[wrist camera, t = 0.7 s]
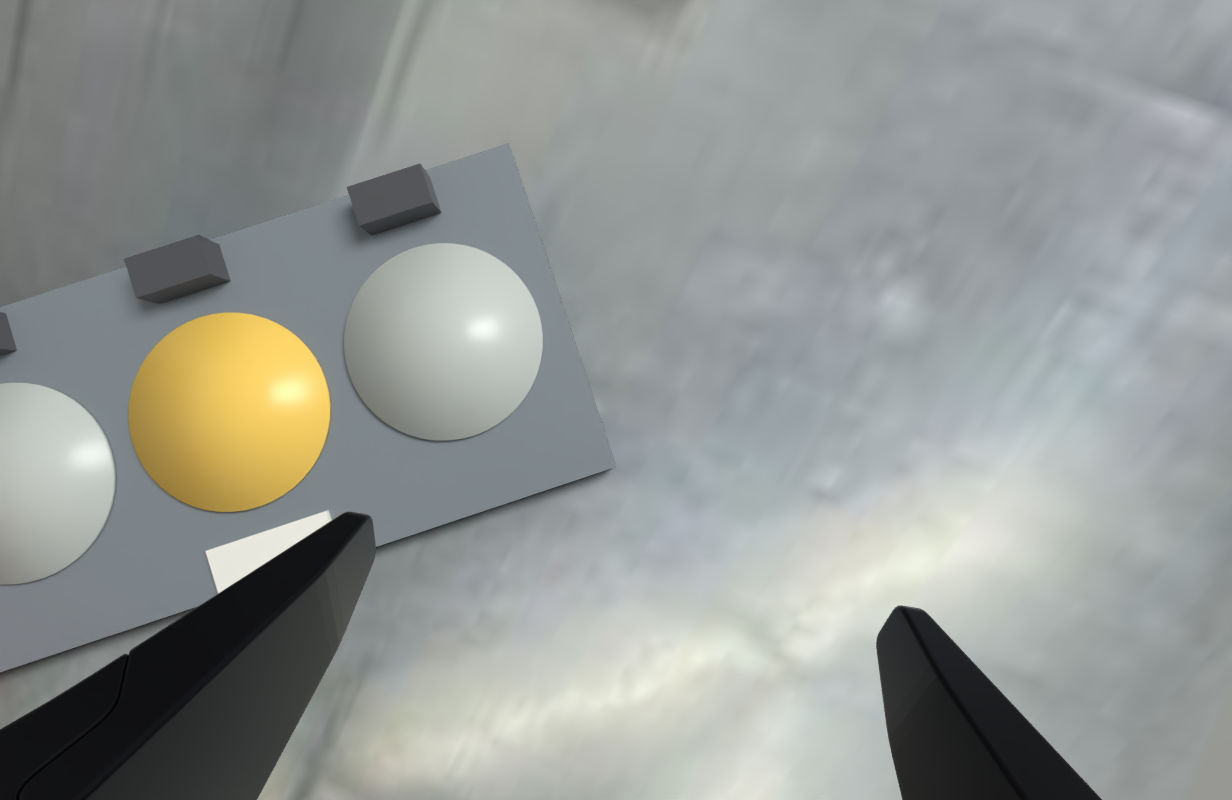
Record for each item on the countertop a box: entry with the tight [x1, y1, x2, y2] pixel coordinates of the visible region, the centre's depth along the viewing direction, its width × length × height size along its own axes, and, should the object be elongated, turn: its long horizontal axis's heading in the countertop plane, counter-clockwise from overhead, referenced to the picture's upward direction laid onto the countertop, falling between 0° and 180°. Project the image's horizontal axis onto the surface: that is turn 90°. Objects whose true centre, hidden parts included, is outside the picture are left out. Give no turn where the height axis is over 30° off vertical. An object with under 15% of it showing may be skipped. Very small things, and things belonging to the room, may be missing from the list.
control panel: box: [0, 143, 616, 672], centre depth 24 cm, size 28×14×2 cm, turn 108°
